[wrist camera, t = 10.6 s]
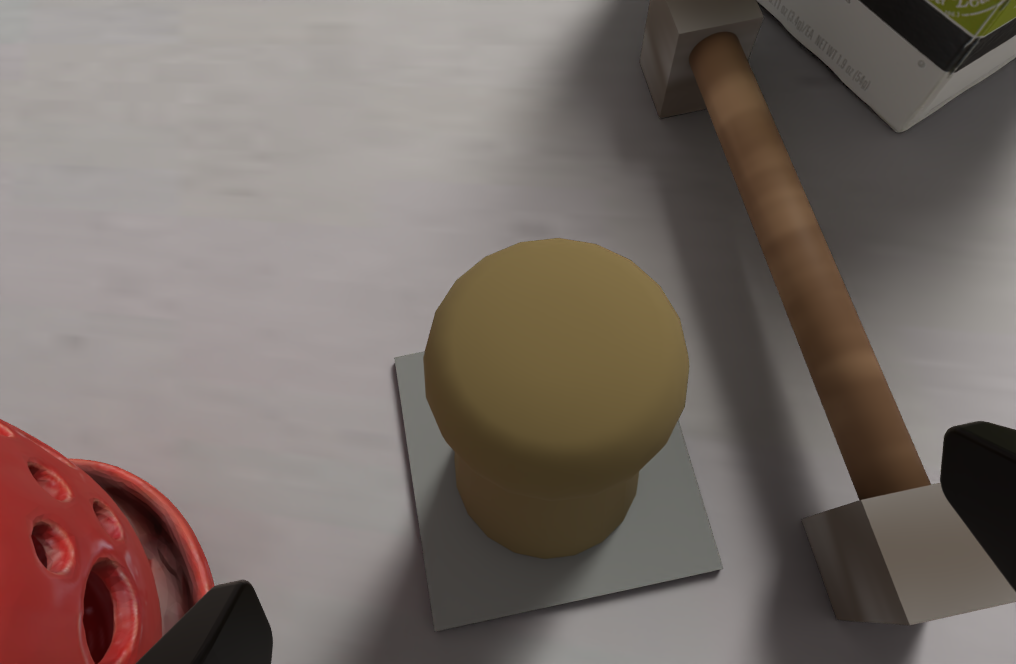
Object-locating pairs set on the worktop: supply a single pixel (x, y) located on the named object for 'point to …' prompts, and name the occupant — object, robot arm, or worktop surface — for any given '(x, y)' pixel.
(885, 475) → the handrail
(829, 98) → the worktop surface
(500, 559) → the pad
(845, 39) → the tea box
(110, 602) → the plant pot
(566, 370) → the cork
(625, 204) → the worktop surface
